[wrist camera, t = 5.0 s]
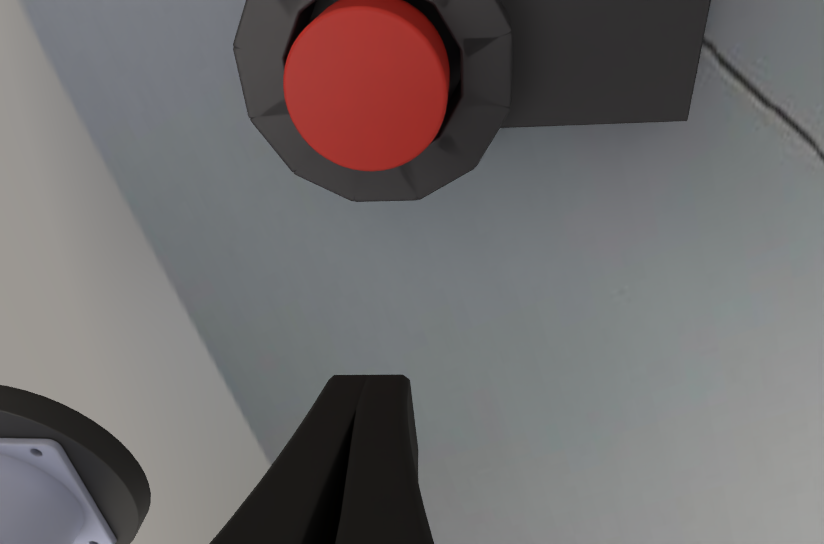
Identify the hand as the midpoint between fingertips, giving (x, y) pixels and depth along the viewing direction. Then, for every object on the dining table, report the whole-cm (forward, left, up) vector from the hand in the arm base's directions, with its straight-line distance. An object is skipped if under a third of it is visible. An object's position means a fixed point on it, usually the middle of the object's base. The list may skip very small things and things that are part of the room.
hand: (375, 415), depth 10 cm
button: (0, +4, -7) cm, 8 cm away
